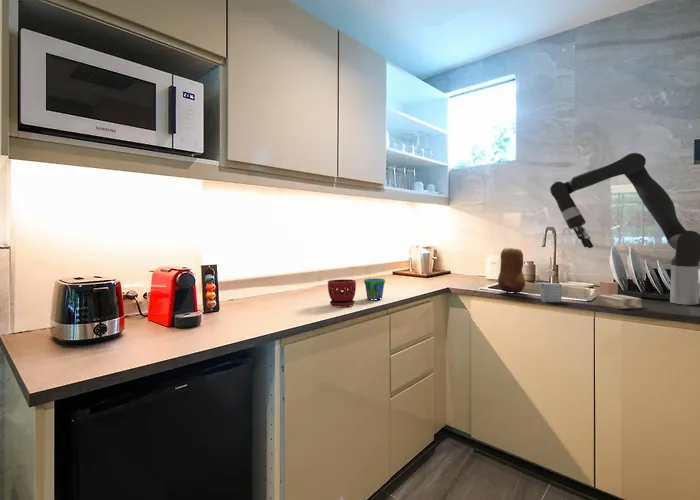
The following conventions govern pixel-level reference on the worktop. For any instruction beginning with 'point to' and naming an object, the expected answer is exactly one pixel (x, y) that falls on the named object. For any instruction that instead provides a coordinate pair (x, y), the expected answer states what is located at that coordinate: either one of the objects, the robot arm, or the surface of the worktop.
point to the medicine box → (551, 292)
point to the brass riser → (619, 301)
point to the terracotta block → (608, 288)
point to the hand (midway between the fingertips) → (589, 247)
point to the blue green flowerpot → (374, 288)
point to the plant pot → (345, 296)
